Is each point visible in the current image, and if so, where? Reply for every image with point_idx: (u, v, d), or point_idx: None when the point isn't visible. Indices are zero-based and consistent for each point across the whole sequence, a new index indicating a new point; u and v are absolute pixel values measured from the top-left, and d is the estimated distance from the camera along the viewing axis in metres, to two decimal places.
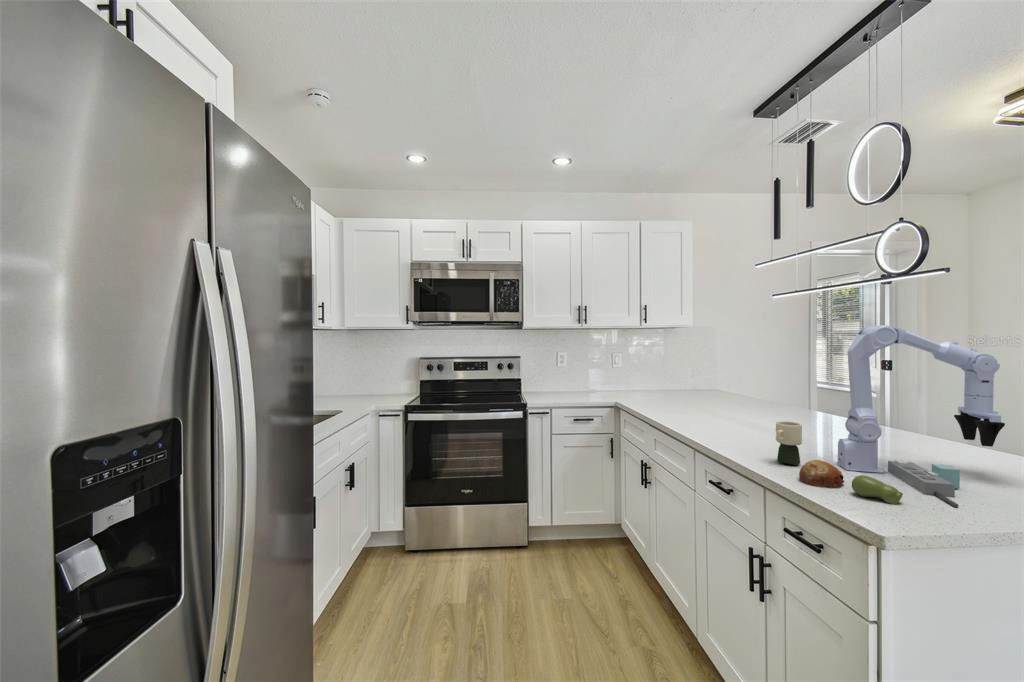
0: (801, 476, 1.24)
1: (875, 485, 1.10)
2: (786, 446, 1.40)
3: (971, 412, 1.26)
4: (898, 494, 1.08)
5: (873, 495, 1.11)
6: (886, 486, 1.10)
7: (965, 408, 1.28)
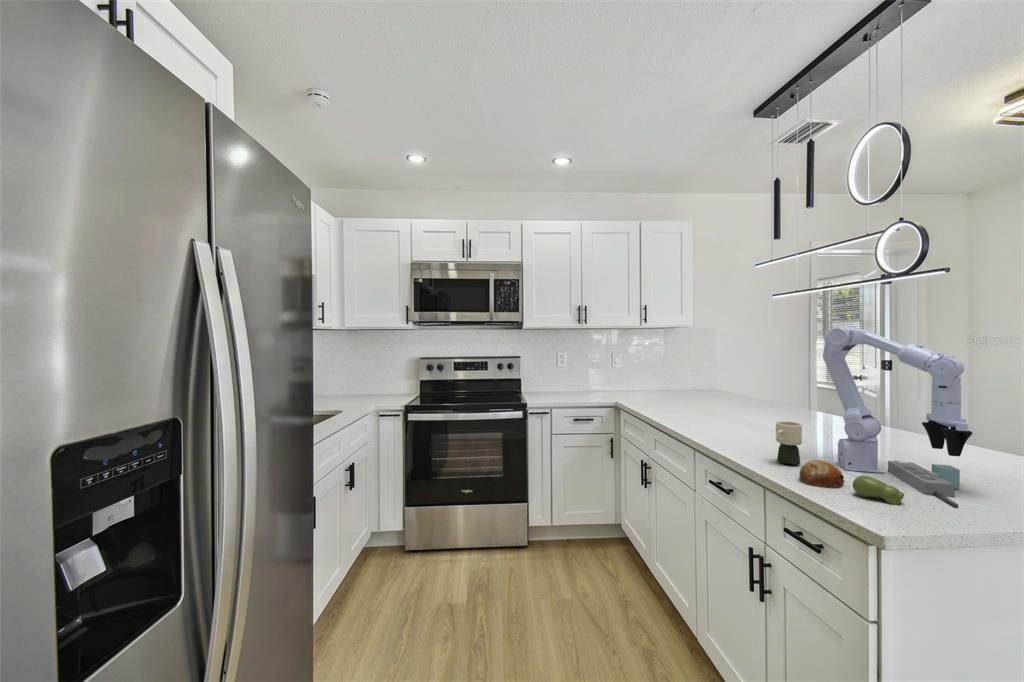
0: (801, 476, 1.24)
1: (876, 486, 1.10)
2: (786, 446, 1.40)
3: (938, 420, 1.19)
4: (899, 494, 1.08)
5: (874, 495, 1.10)
6: (887, 486, 1.09)
7: (932, 415, 1.21)
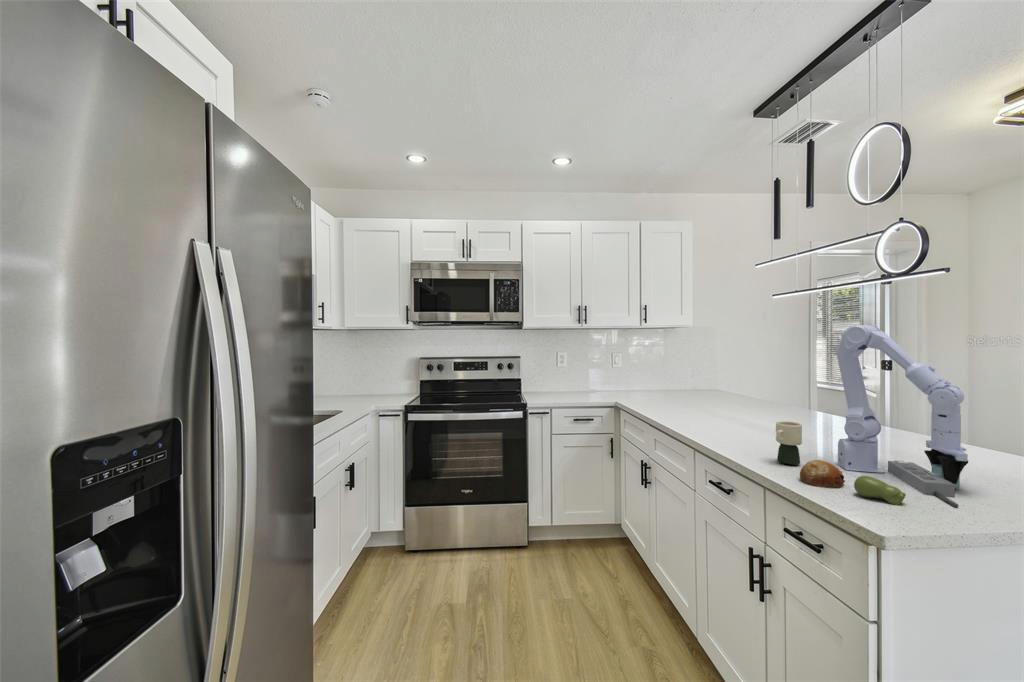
0: (801, 476, 1.24)
1: (878, 486, 1.10)
2: (786, 446, 1.40)
3: (938, 448, 1.19)
4: (901, 495, 1.07)
5: (876, 496, 1.10)
6: (889, 487, 1.09)
7: (932, 444, 1.21)
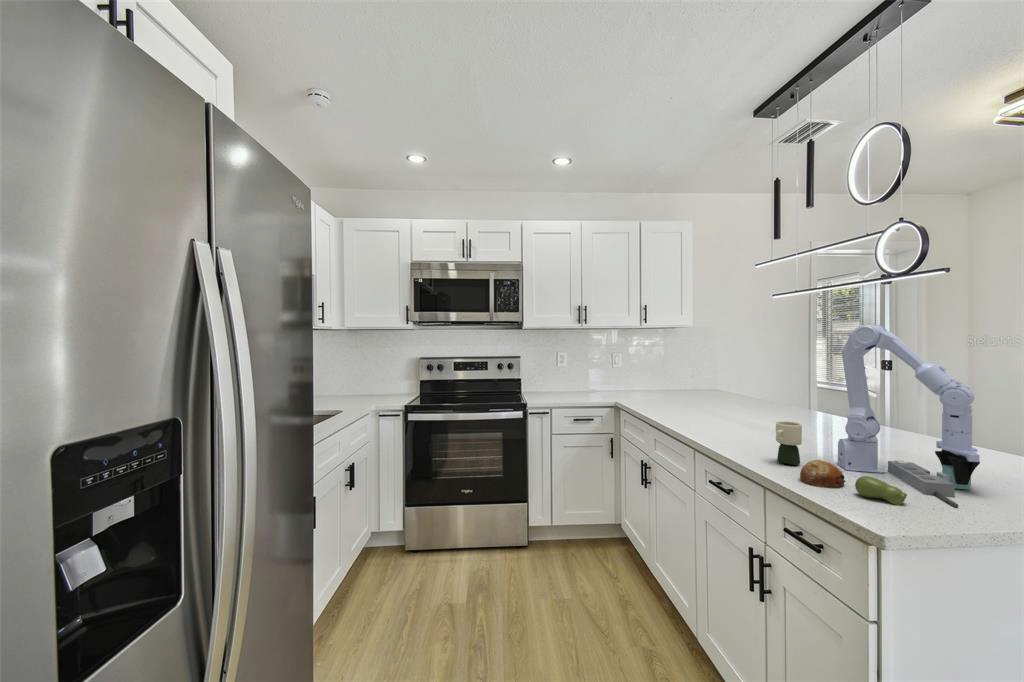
0: (802, 476, 1.24)
1: (879, 486, 1.10)
2: (786, 446, 1.40)
3: (949, 449, 1.18)
4: (902, 495, 1.07)
5: (877, 496, 1.10)
6: (890, 487, 1.09)
7: (943, 444, 1.20)
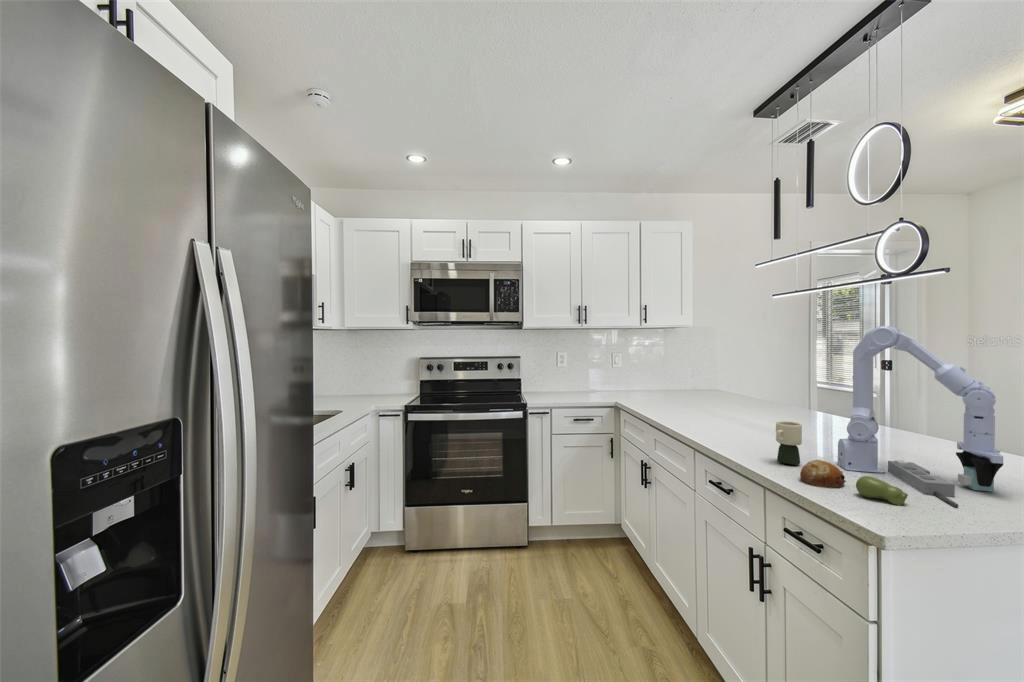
0: (802, 476, 1.24)
1: (880, 486, 1.09)
2: (786, 446, 1.40)
3: (971, 450, 1.16)
4: (903, 495, 1.07)
5: (878, 496, 1.10)
6: (891, 487, 1.09)
7: (964, 445, 1.19)
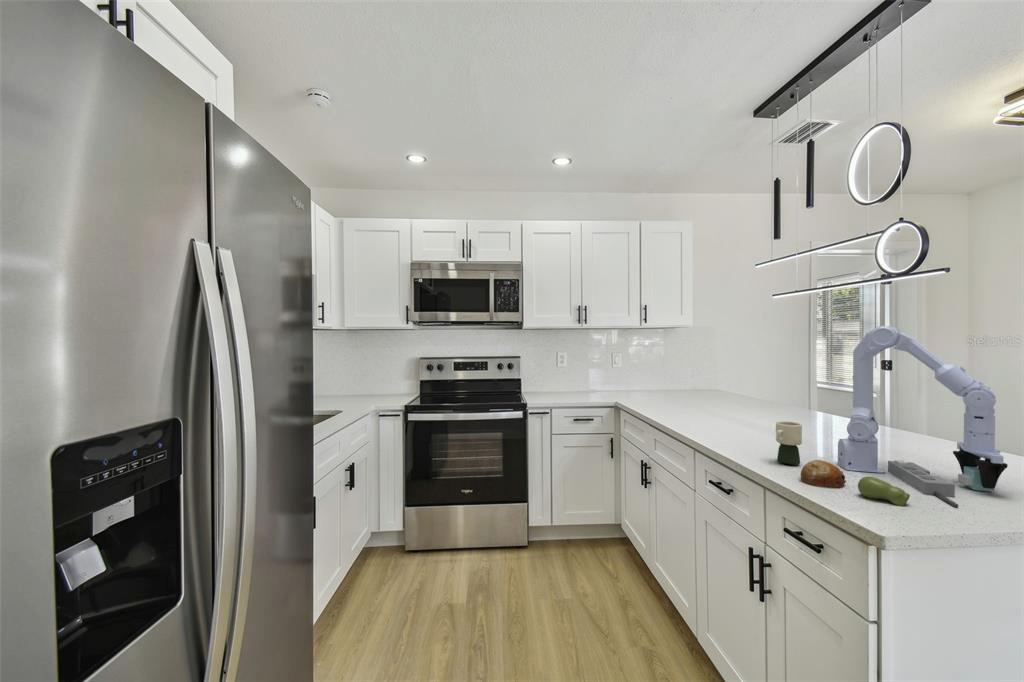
0: (802, 477, 1.24)
1: (882, 487, 1.09)
2: (786, 446, 1.40)
3: (971, 450, 1.16)
4: (905, 496, 1.07)
5: (880, 497, 1.10)
6: (893, 487, 1.09)
7: (964, 445, 1.19)
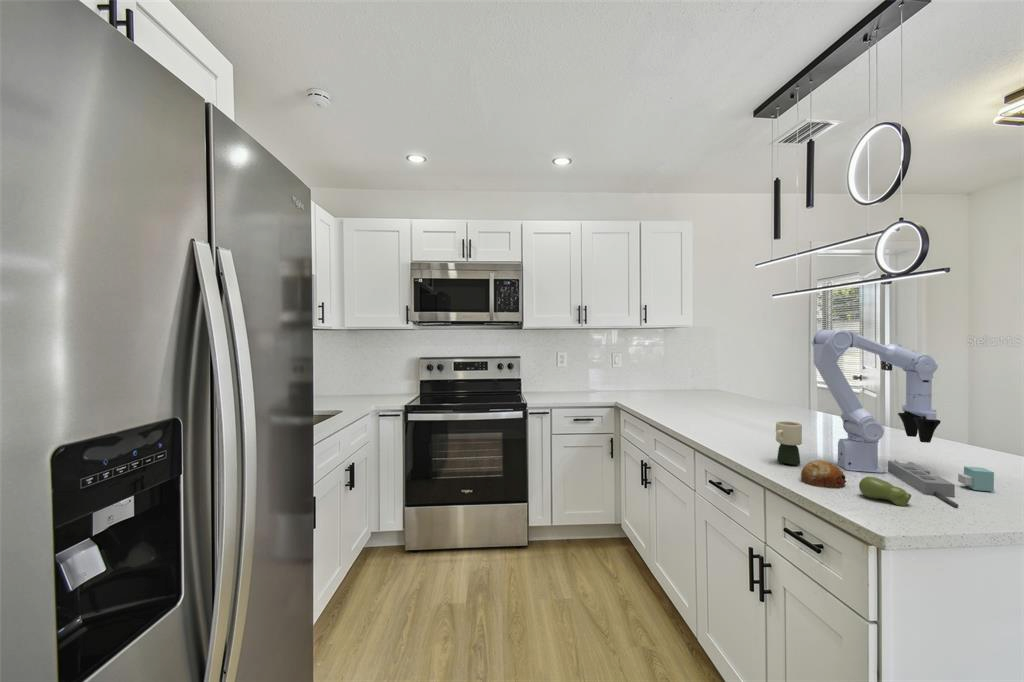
0: (803, 477, 1.24)
1: (883, 487, 1.09)
2: (786, 446, 1.40)
3: (911, 410, 1.33)
4: (907, 496, 1.07)
5: (881, 497, 1.09)
6: (894, 488, 1.09)
7: (906, 406, 1.35)
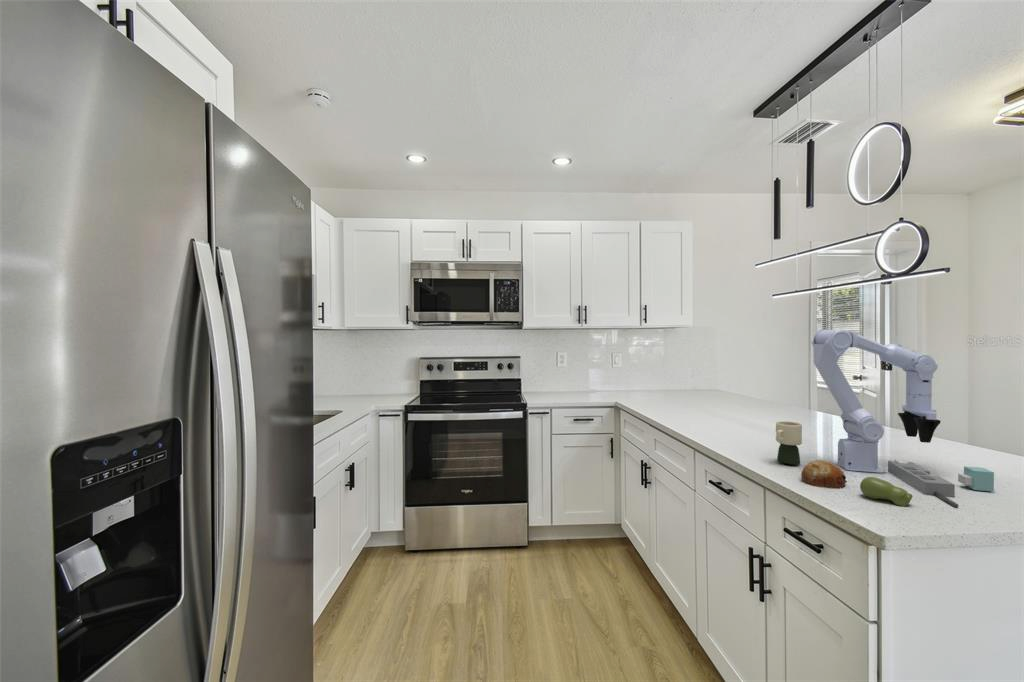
0: (803, 477, 1.24)
1: (884, 487, 1.09)
2: (786, 446, 1.40)
3: (911, 410, 1.33)
4: (908, 496, 1.06)
5: (882, 497, 1.09)
6: (895, 488, 1.08)
7: (906, 406, 1.35)
